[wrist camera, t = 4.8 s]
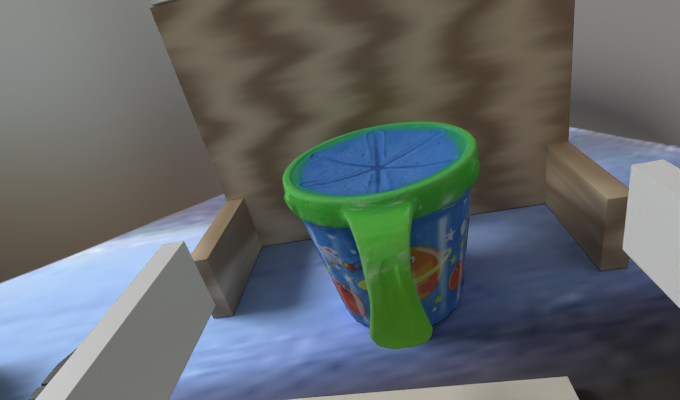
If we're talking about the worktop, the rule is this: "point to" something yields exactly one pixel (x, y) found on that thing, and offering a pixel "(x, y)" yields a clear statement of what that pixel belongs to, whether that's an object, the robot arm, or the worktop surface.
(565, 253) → the worktop surface
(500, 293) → the worktop surface
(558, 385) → the paving slab
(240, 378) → the worktop surface
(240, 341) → the worktop surface
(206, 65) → the tan tall piece
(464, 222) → the snack cup
